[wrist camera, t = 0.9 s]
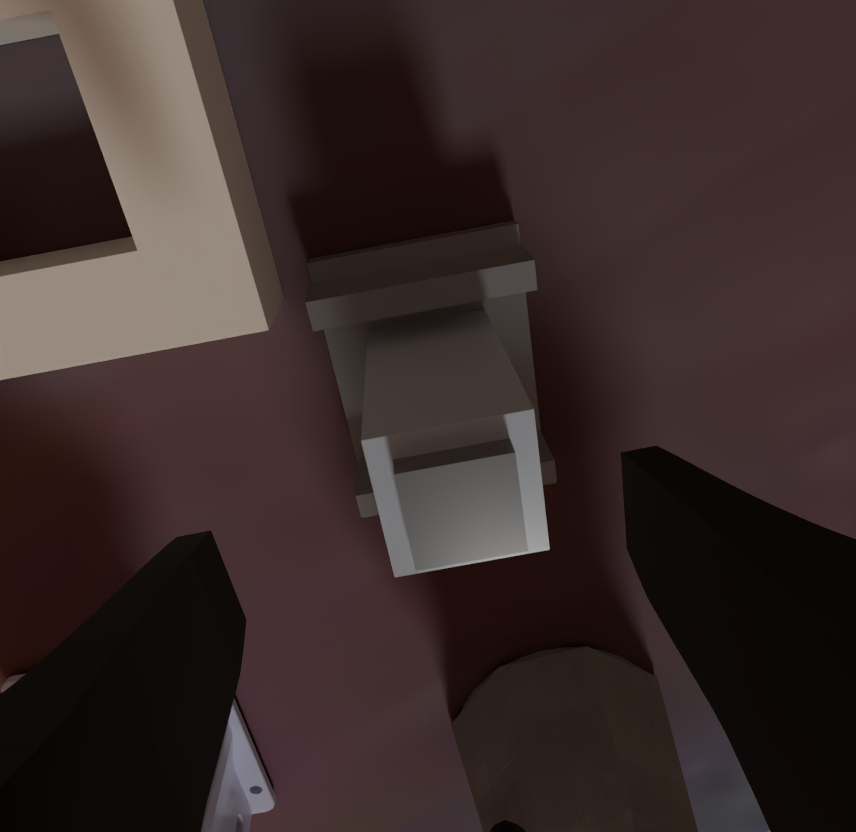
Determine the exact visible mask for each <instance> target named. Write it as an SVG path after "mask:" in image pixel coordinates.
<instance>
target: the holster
mask: <svg viewBox="0 0 856 832" xmlns="http://www.w3.org/2000/svg"><path fill="white" fill-rule="evenodd" d="M307 265H308V269H309V273H310V277H311V281H312V286H311V289H310V292H309V294H308V297H307V300H306V302H305V303H306V307H307V311H308V315H309V318H310V322H311V326H312V330H313V332H314V331H319V330H324V333H325V337H326V341H327V344H328V348H329V352H330V356H331V360H332V364H333V368H334V372H335V376H336V380H337V384H338V388H339V392H340V396H341V400H342V404H343V408H344V412H345V416H346V420H347V424H348V428H349V432H350V436H351V440H352V444H353V448H354V452H355V456H356V460H357V464H358V468H357V484H356V499H357V503H358V507H359V511H360V515H361V518H365V517H371V516H376V515H379V512H378V508H377V504H376V500H375V496H374V492H373V488H372V484H371V479H370V475H369V471H368V467H367V463H366V459H365V455H364V451H363V447H362V443H361V433H362V416H363V399H364V383H365V366H366V350H367V333H368V331H369V330H375V329H380V328H385V327H391V326H396V325H402V324H407V323H412V322H418V321H423V320H429V319H434V318H439V317H445V316H450V315H456V314H461V313H466V312H472V311H477V310H483V309H485V311H486V313H487V315H488V317H489V319H490V321H491V323H492V325H493V327H494V329H495V331H496V333H497V335H498V337H499V339H500V341H501V343H502V345H503V347H504V349H505V351H506V353H507V355H508V357H509V359H510V361H511V363H512V365H513V367H514V370H515V372H516V374H517V376H518V378H519V380H520V382H521V384H522V386H523V388H524V390H525V392H526V394H527V396H528V398H529V400H530V402H531V404H532V406H533V408H534V413H535V422H536V431H537V440H538V449H539V458H540V467H541V476H542V484H543V485H548V484H553V483H557V477H556V467H555V459H554V457H553V455H552V453H551V451H550V449H549V447H548V445H547V443H546V441H545V439H544V437H543V434H542V432H541V427H540V418H539V409H538V400H537V391H536V381H535V372H534V363H533V354H532V345H531V336H530V327H529V317H528V308H527V299H526V292H529V291H535V290H538V289H537V279H536V269H535V260H534V259H533V258H532V257H531V256H530V255H529V254H528V252H527V251H526V250H525V249H524V248H523V247H522V246H521V244H520V235H519V226H518V223H517V222H516V221H515V220H513V221H508V222H502V223H497V224H492V225H486V226H481V227H476V228H470V229H465V230H460V231H454V232H449V233H444V234H438V235H433V236H428V237H422V238H417V239H412V240H406V241H401V242H396V243H390V244H385V245H380V246H374V247H369V248H364V249H358V250H353V251H348V252H342V253H337V254H332V255H326V256H321V257H316V258H310V259H309V260H308V262H307Z"/></svg>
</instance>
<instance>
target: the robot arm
mask: <svg viewBox="0 0 856 832" xmlns="http://www.w3.org/2000/svg"><path fill="white" fill-rule="evenodd" d="M621 462H622V478H623V494H624V510H625V526H626V541H627V550H628V552H629V555H630V557H631V560H632V562H633V564H634V567H635V569H636V572H637V574H638V577H639V579H640V581H641V584H642V586H643V588H644V590H645V593H646V595H647V597H648V599H649V601H650V603H651V604H652V606H653V608H654V610H655V611H656V613H657V615H658V617H659V618H660V620H661V622H662V624H663V625H664V627H665V629H666V630H667V632H668V634H669V636H670V637H671V639H672V641H673V642H674V644H675V646H676V647H677V649H678V651H679V653H680V654H681V656H682V658H683V659H684V661H685V663H686V664H687V666H688V668H689V669H690V671H691V673H692V675H693V676H694V678H695V680H696V681H697V683H698V685H699V686H700V688H701V690H702V691H703V693H704V695H705V697H706V698H707V700H708V702H709V703H710V705H711V707H712V708H713V710H714V712H715V714H716V716H717V718H718V720H719V721H720V723H721V725H722V727H723V729H724V731H725V733H726V735H727V737H728V739H729V741H730V743H731V745H732V747H733V750H734V752H735V754H736V756H737V758H738V760H739V762H740V765H741V767H742V769H743V771H744V773H745V775H746V778H747V780H748V782H749V784H750V786H751V788H752V791H753V793H754V795H755V797H756V799H757V802H758V804H759V806H760V808H761V811H762V813H763V815H764V817H765V820H766V822H767V824H768V826H769V829H770V831H771V832H856V539H853V538H851V537H848V536H845V535H842V534H840V533H837V532H834V531H832V530H829V529H827V528H824V527H822V526H819V525H817V524H814V523H812V522H810V521H807V520H805V519H803V518H800V517H798V516H796V515H794V514H791V513H789V512H787V511H784V510H782V509H780V508H778V507H775V506H773V505H771V504H769V503H767V502H765V501H763V500H761V499H759V498H756V497H754V496H752V495H750V494H748V493H746V492H744V491H742V490H740V489H738V488H736V487H734V486H733V485H731V484H729V483H727V482H725V481H723V480H721V479H719V478H717V477H715V476H713V475H711V474H710V473H708V472H706V471H704V470H702V469H700V468H698V467H697V466H695V465H693V464H691V463H689V462H687V461H685V460H683V459H682V458H680V457H678V456H676V455H674V454H672V453H670V452H668V451H666V450H664V449H662V448H660V447H658V446H653V447H647V448H642V449H637V450H632V451H626V452H621ZM245 627H246V618H245V615H244V613H243V610H242V608H241V605H240V603H239V600H238V598H237V595H236V593H235V590H234V588H233V585H232V583H231V580H230V578H229V575H228V572H227V570H226V567H225V565H224V562H223V560H222V557H221V555H220V552H219V550H218V547H217V545H216V542H215V540H214V537H213V535H212V532H211V531H206V532H201V533H196V534H191V535H185V536H180V537H176V538H175V539H174V540H173V541H171V542H170V543H169V544H168V545H167V546H165V547H164V548H163V549H162V550H161V551H160V552H159V553H158V554H157V555H155V556H154V557H153V558H152V559H151V560H150V561H149V562H148V563H147V564H146V565H145V566H144V567H143V568H142V569H141V570H140V571H139V572H137V573H136V574H135V575H134V576H133V577H132V578H131V579H130V580H129V581H128V582H127V583H126V584H125V585H124V586H123V587H122V588H121V589H120V590H119V591H118V592H117V593H116V594H115V595H113V596H112V597H111V598H110V599H109V600H108V601H107V602H106V603H105V604H104V605H103V606H102V607H101V608H100V609H99V610H98V611H97V612H96V613H95V614H93V615H92V616H91V617H90V618H89V619H88V620H87V621H86V622H85V623H84V624H82V625H81V626H80V627H79V628H78V629H77V630H76V631H75V632H73V633H72V634H71V635H70V636H69V637H68V638H67V639H66V640H64V641H63V642H62V643H61V644H60V645H59V646H58V647H57V648H55V649H54V650H53V651H52V652H51V653H50V654H49V655H47V656H46V657H45V658H44V659H43V660H42V661H41V662H40V663H38V664H37V665H36V666H35V667H34V668H32V669H31V670H30V671H29V672H28V673H26V674H20V675H15V676H11V677H9V678H8V679H7V680H6V681H5V682H4V684H3V686H2V688H1V692H2V693H1V694H0V832H249V828H250V823H251V817H252V814H256V813H261V812H266V811H269V810H271V809H272V808H273V807H274V805H275V799H276V798H275V794H274V791H273V789H272V787H271V784H270V782H269V780H268V777H267V775H266V772H265V770H264V768H263V765H262V763H261V761H260V758H259V756H258V753H257V751H256V749H255V746H254V744H253V742H252V739H251V737H250V734H249V732H248V730H247V727H246V725H245V723H244V720H243V718H242V715H241V713H240V711H239V708H238V706H237V704H236V701H235V699H234V697H235V693H236V689H237V685H238V680H239V676H240V671H241V663H242V656H243V648H244V637H245Z"/></svg>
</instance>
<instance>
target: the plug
mask: <svg viewBox="0 0 856 832" xmlns="http://www.w3.org/2000/svg"><path fill="white" fill-rule="evenodd" d="M361 443H362V447H363V451H364V455H365V459H366V463H367V467H368V471H369V475H370V479H371V484H372V488H373V492H374V496H375V500H376V504H377V508H378V512H379V516H380V520H381V524H382V528H383V533H384V537H385V541H386V545H387V549H388V553H389V557H390V561H391V565H392V569H393V573H394V577H400V576H406V575H412V574H417V573H423V572H428V571H434V570H440V569H445V568H451V567H456V566H462V565H468V564H473V563H479V562H484V561H490V560H496V559H501V558H507V557H512V556H518V555H524V554H529V553H535V552H540V551H546V550H550V547H549V538H548V529H547V520H546V511H545V502H544V493H543V484H542V476H541V467H540V458H539V449H538V440H537V431H536V422H535V413H534V408H533V406H532V404H531V402H530V400H529V398H528V396H527V394H526V392H525V390H524V388H523V386H522V384H521V382H520V380H519V378H518V376H517V374H516V372H515V370H514V367H513V365H512V363H511V361H510V359H509V357H508V355H507V353H506V351H505V349H504V347H503V345H502V343H501V341H500V339H499V337H498V335H497V333H496V331H495V329H494V327H493V325H492V323H491V321H490V319H489V317H488V315H487V313H486V311H485V309H483V310H477V311H472V312H466V313H461V314H456V315H450V316H445V317H439V318H434V319H429V320H423V321H418V322H412V323H407V324H402V325H396V326H391V327H385V328H380V329H375V330H369V331H368V333H367V350H366V366H365V383H364V399H363V416H362V433H361Z"/></svg>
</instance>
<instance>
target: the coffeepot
mask: <svg viewBox="0 0 856 832" xmlns="http://www.w3.org/2000/svg"><path fill="white" fill-rule="evenodd" d="M451 725H452V729H453V732H454V735H455V739H456V742H457V745H458V748H459V752H460V755H461V758H462V762H463V765H464V768H465V772H466V775H467V778H468V782H469V785H470V788H471V792H472V795H473V798H474V802H475V805H476V808H477V812H478V815H479V818H480V822H481V825H482V829H483V832H698V830H697V826H696V822H695V819H694V815H693V811H692V807H691V804H690V800H689V796H688V792H687V788H686V785H685V781H684V777H683V773H682V770H681V766H680V762H679V758H678V754H677V751H676V747H675V743H674V739H673V736H672V732H671V728H670V724H669V720H668V717H667V713H666V709H665V705H664V702H663V698H662V694H661V690H660V686H659V683H658V679H657V677H656V676H654V675H652V674H651V673H649V672H647V671H645V670H644V669H642V668H640V667H638V666H636V665H635V664H633V663H631V662H629V661H628V660H626V659H624V658H623V657H621V656H618V655H615V654H612V653H609V652H606V651H603V650H597V649H592V648H590V647H588V646H585V647H563V648H556V649H550V650H543V651H539V652H536V653H533V654H530V655H526V656H523V657H520V658H518V659H516V660H514V661H512V662H510V663H508V664H506V665H504V666H501V667H498V668H497V669H496V670H495V671H493V672H492V673H491V674H490V675H489V676H487V677H486V678H485V679H484V680H483V681H482V682H481V683H480V684H479V685H478V686H477V687H476V688H475V689H474V690H473V692H472V693H471V695H470V696H469V698H468V699H467V701H466V702H465V704H464V706H463V709H462V711H461V713H460V714H459V715H458V716H457V718H456V719H455V720H454V721H453V722H452V724H451Z"/></svg>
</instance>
